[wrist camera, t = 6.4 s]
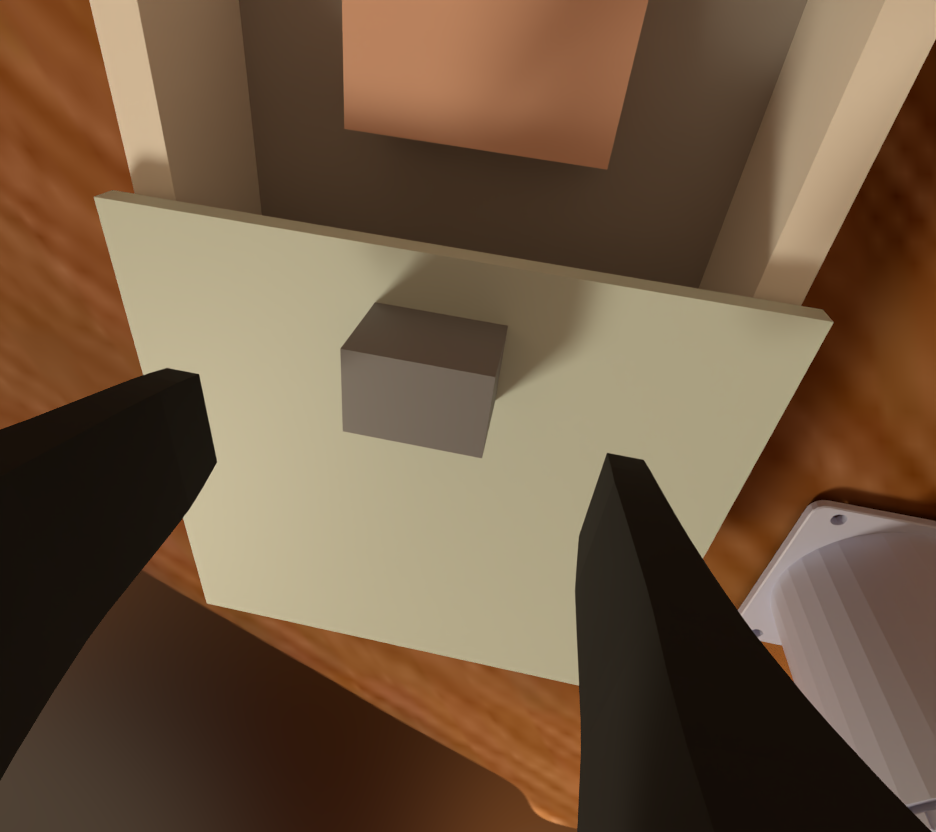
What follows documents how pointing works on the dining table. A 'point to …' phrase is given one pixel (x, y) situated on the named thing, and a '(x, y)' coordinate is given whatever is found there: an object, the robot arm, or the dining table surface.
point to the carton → (527, 122)
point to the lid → (437, 418)
